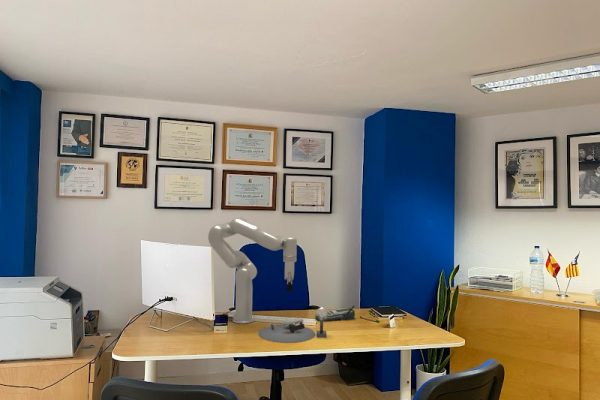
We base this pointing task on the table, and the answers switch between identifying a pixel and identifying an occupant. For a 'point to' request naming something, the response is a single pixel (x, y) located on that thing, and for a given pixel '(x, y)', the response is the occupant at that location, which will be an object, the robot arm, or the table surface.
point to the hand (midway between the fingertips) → (289, 291)
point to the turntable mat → (286, 334)
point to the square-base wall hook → (321, 322)
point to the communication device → (339, 314)
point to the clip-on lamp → (292, 324)
